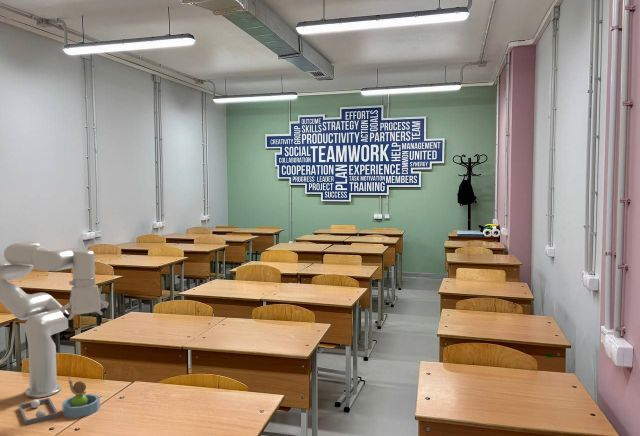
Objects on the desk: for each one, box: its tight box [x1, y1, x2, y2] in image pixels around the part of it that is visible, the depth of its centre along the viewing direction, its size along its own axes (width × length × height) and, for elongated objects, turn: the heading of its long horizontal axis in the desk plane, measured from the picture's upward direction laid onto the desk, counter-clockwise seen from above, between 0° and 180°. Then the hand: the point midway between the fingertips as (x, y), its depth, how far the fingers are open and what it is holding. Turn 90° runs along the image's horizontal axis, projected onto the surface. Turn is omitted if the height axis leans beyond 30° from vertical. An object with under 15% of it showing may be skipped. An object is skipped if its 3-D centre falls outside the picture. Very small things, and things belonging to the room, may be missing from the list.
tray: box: [18, 397, 59, 426], centre depth 183 cm, size 16×10×2 cm, turn 38°
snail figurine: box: [68, 376, 88, 407], centre depth 185 cm, size 5×6×12 cm
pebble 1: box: [30, 398, 41, 409], centre depth 188 cm, size 3×3×3 cm
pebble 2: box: [35, 409, 46, 418], centre depth 179 cm, size 3×3×3 cm
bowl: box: [61, 393, 101, 419], centre depth 186 cm, size 12×12×4 cm
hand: (85, 327), depth 194 cm, fingers open, 9 cm apart
